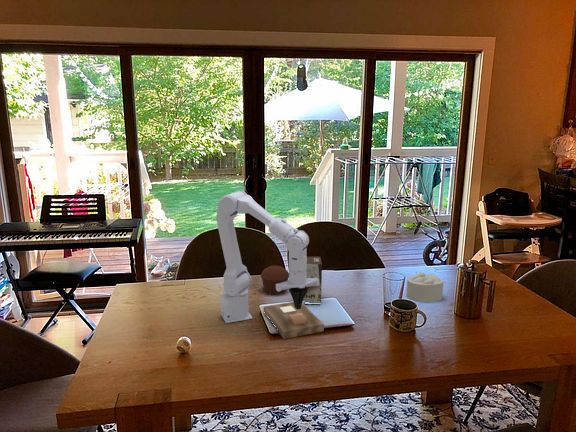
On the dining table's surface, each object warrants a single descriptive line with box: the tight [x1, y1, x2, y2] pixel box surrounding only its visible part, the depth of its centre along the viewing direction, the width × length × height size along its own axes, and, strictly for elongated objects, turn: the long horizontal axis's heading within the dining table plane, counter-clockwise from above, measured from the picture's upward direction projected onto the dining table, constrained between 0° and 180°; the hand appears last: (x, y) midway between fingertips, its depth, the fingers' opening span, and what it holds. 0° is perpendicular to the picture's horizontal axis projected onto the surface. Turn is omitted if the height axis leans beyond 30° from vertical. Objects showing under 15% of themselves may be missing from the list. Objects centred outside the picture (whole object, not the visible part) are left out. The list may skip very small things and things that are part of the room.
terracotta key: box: [289, 313, 306, 325], centre depth 149 cm, size 4×4×2 cm
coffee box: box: [303, 256, 323, 304], centre depth 170 cm, size 9×6×16 cm
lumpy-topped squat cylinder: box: [405, 271, 444, 303], centre depth 173 cm, size 10×13×9 cm
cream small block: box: [279, 306, 296, 314], centre depth 157 cm, size 4×4×2 cm
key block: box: [263, 301, 325, 340], centre depth 153 cm, size 14×20×2 cm
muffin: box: [260, 265, 289, 296], centre depth 179 cm, size 12×11×10 cm
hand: (297, 308), depth 148 cm, fingers closed
